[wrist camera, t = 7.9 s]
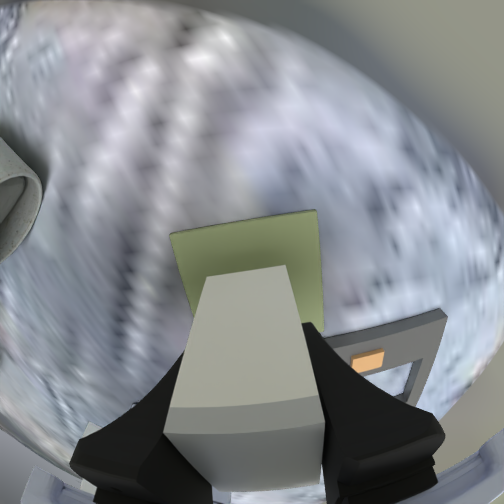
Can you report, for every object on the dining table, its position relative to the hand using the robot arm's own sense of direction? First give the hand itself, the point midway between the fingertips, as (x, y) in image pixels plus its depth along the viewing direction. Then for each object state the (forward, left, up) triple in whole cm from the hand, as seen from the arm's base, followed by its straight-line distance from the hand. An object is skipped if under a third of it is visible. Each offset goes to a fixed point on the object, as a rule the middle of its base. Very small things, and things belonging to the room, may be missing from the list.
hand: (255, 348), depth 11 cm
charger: (0, 0, -2) cm, 2 cm away
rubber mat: (0, 0, -6) cm, 6 cm away
